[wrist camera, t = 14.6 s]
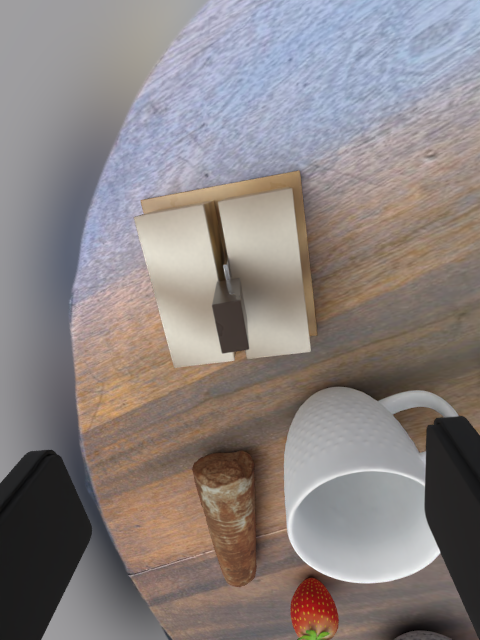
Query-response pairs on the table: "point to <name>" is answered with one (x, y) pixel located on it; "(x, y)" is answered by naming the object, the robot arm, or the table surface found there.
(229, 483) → the brown tapered rod
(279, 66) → the table surface
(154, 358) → the table surface
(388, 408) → the mug
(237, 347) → the dark and grey slab
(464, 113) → the table surface
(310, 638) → the fruit
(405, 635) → the decorative ball
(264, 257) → the slotted holder block
